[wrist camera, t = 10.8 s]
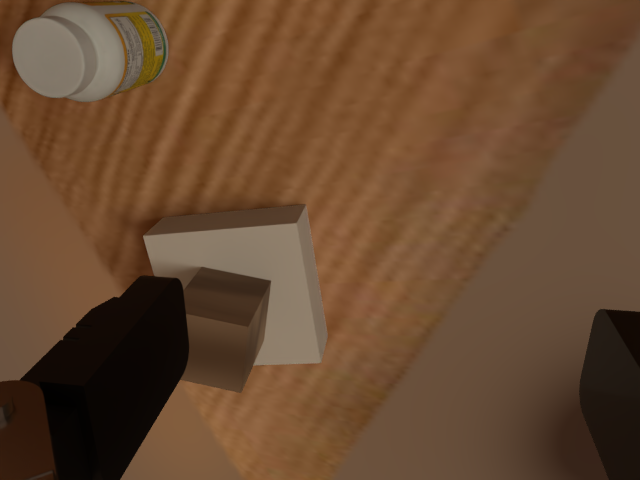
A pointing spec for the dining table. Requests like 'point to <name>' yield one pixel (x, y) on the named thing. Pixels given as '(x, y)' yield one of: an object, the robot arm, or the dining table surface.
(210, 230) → the riser block
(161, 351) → the robot arm
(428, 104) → the dining table surface
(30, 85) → the supplement bottle
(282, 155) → the dining table surface
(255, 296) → the walnut block
